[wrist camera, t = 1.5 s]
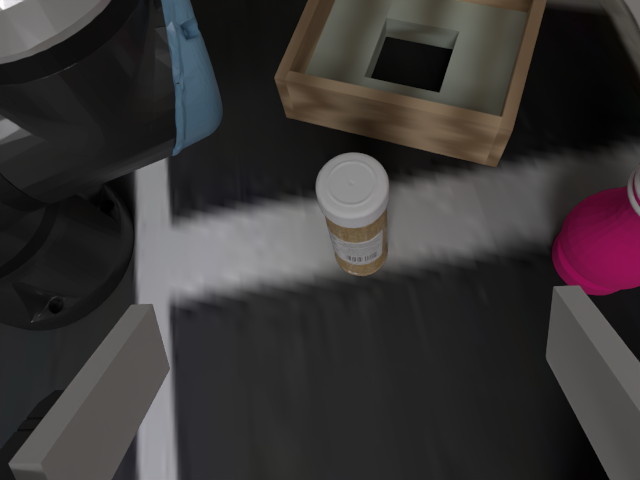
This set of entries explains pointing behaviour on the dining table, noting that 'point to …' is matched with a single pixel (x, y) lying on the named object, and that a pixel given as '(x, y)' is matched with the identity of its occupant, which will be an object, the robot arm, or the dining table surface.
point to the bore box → (404, 101)
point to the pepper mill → (602, 241)
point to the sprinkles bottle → (355, 210)
